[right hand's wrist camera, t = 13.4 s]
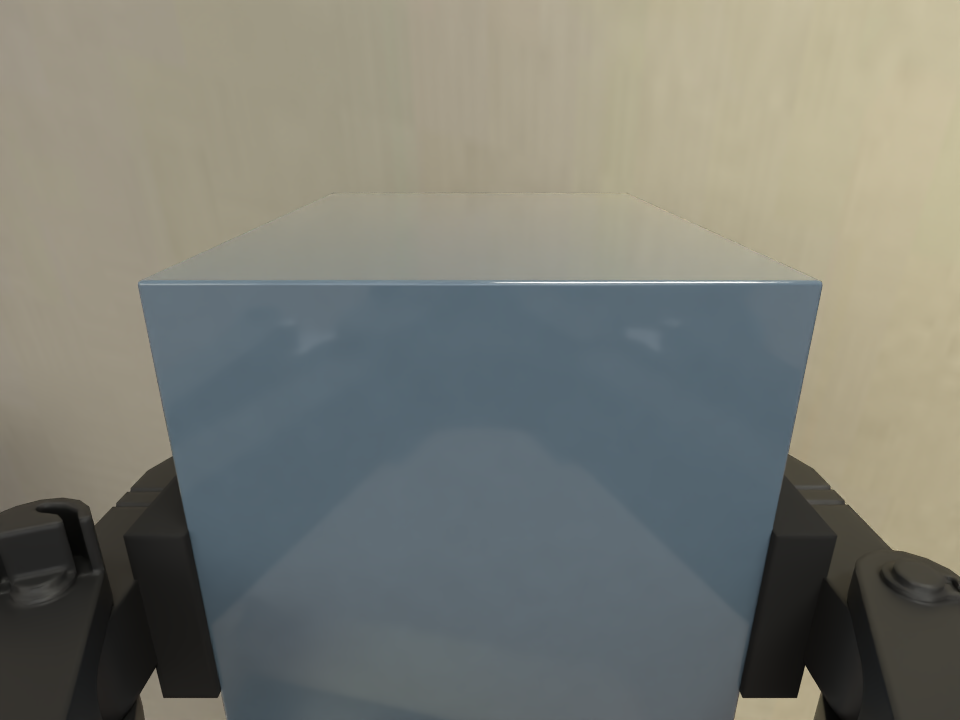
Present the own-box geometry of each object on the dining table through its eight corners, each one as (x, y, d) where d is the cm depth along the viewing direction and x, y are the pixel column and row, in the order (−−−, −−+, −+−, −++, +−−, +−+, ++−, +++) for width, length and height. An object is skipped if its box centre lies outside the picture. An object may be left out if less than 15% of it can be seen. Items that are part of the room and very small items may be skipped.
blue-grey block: (357, 505, 18) (249, 839, 10) (331, 192, 15) (135, 280, 6) (602, 505, 18) (710, 839, 10) (628, 192, 15) (826, 280, 6)
